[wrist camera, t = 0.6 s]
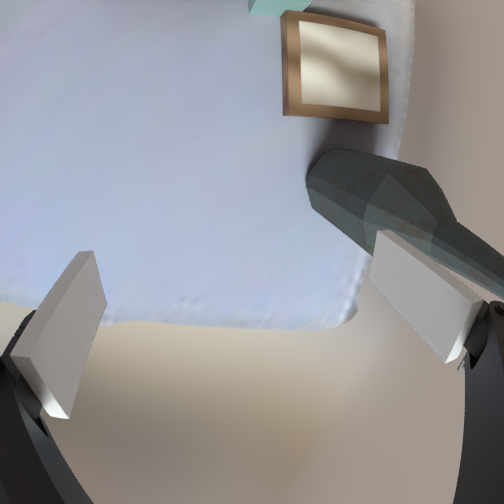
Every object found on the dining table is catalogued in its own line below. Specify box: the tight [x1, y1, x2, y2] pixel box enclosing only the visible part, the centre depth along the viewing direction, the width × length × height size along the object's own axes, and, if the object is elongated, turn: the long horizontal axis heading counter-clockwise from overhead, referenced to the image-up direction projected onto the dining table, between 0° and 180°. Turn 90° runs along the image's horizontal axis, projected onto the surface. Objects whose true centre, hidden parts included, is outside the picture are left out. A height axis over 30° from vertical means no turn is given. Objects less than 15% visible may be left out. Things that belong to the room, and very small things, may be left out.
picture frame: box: [281, 10, 389, 124], centre depth 30 cm, size 14×14×3 cm
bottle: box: [306, 149, 504, 300], centre depth 25 cm, size 10×10×30 cm
